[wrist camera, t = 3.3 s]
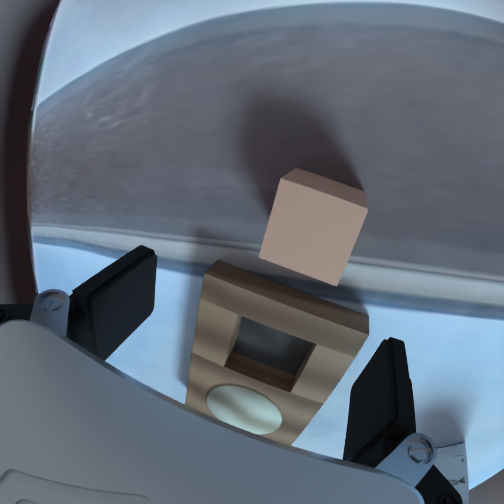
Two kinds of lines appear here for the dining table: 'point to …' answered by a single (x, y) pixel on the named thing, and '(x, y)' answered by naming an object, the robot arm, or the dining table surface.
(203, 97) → the dining table surface
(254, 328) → the hole platform
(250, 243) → the dining table surface
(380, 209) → the dining table surface
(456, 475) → the supplement box
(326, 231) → the block
